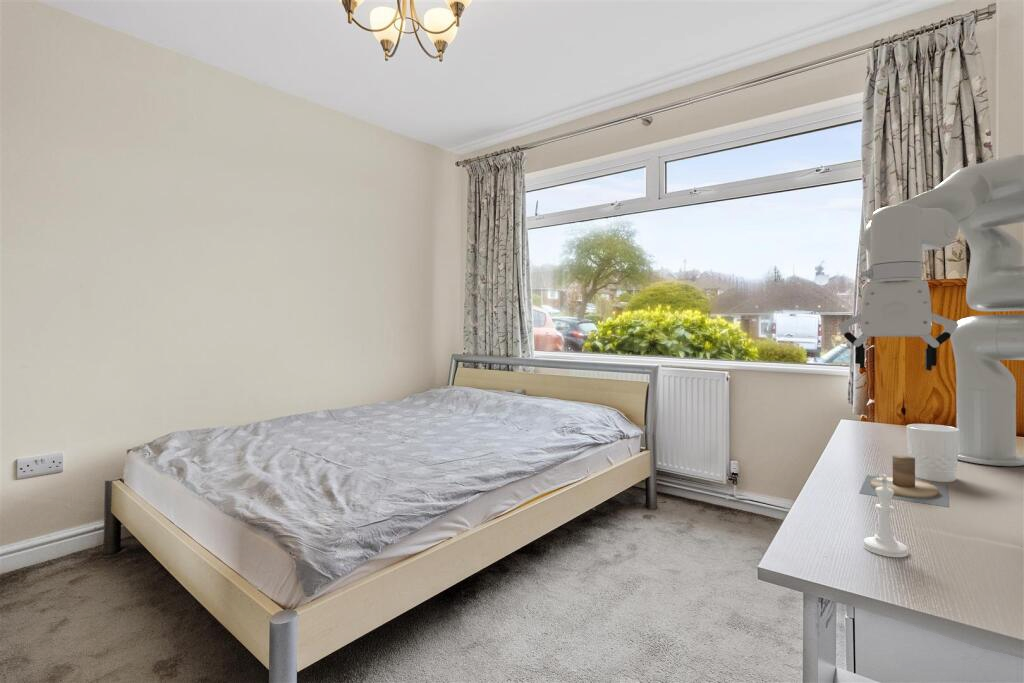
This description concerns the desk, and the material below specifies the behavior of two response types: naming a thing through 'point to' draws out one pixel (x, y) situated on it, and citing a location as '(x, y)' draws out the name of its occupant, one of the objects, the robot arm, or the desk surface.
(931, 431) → the white cup
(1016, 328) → the robot arm
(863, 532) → the desk surface
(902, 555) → the chess piece
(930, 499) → the mat
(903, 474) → the lid
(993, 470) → the desk surface
